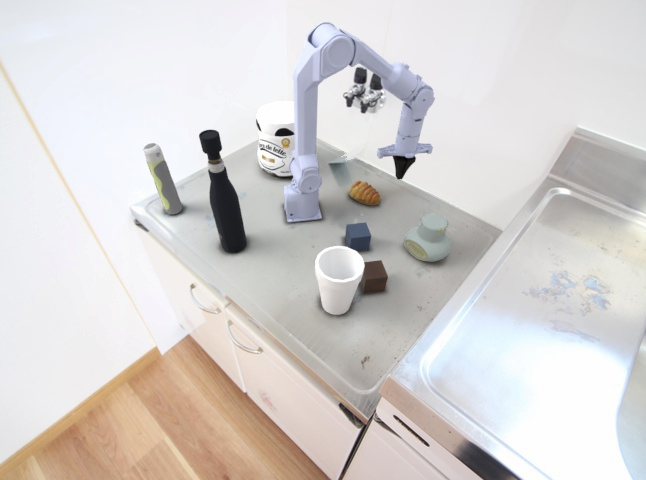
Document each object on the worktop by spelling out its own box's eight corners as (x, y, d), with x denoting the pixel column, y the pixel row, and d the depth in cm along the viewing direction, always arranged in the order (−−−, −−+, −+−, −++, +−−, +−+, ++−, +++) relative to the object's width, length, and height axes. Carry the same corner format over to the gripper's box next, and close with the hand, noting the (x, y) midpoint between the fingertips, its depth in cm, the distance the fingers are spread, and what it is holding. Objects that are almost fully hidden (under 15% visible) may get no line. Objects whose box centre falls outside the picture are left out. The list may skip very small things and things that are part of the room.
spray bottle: (173, 217, 96) (148, 152, 81) (162, 211, 97) (135, 147, 83) (186, 208, 98) (164, 143, 83) (175, 202, 100) (151, 138, 85)
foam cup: (312, 287, 78) (313, 247, 68) (352, 284, 78) (358, 244, 69) (317, 323, 72) (318, 284, 62) (361, 319, 72) (368, 280, 62)
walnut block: (363, 293, 77) (365, 279, 73) (357, 276, 80) (359, 262, 76) (384, 291, 77) (388, 276, 73) (378, 274, 80) (381, 260, 77)
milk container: (257, 182, 106) (249, 126, 93) (261, 153, 118) (254, 100, 105) (312, 181, 106) (313, 125, 93) (311, 152, 118) (311, 98, 104)
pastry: (385, 199, 99) (387, 189, 96) (371, 210, 96) (372, 199, 93) (360, 186, 104) (361, 176, 101) (345, 196, 101) (346, 185, 98)
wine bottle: (251, 239, 89) (231, 128, 67) (240, 255, 85) (215, 144, 63) (229, 233, 91) (202, 124, 68) (217, 250, 87) (185, 139, 64)
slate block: (349, 252, 85) (351, 238, 82) (344, 238, 89) (346, 224, 85) (368, 250, 86) (371, 235, 82) (363, 236, 89) (366, 222, 85)
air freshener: (396, 245, 87) (404, 215, 79) (418, 232, 90) (428, 202, 82) (430, 272, 80) (442, 241, 73) (453, 256, 84) (466, 226, 76)
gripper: (386, 142, 84) (378, 188, 94) (442, 136, 85) (428, 183, 95) (377, 128, 88) (371, 173, 98) (431, 123, 90) (419, 169, 100)
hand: (398, 177), depth 97 cm, fingers closed
